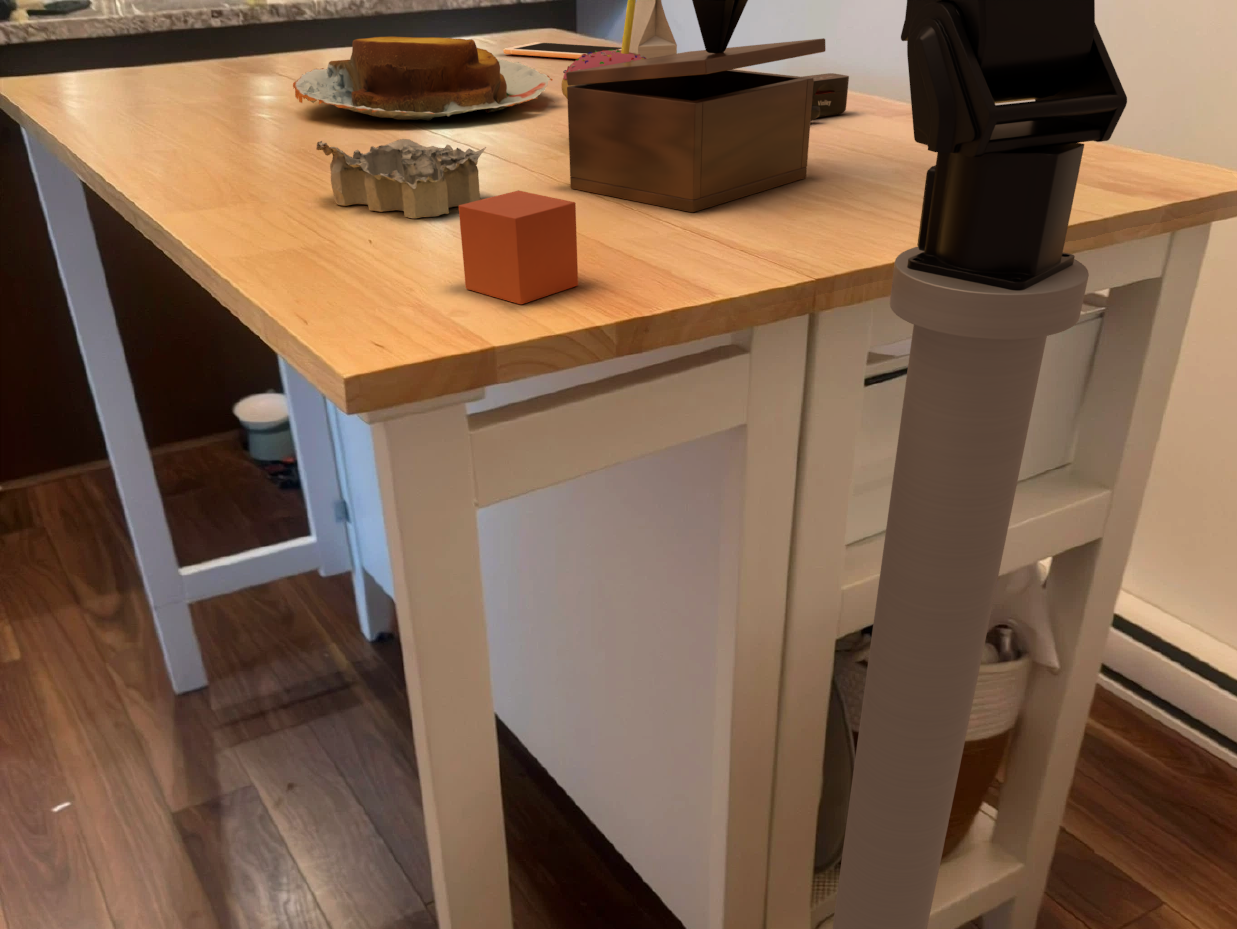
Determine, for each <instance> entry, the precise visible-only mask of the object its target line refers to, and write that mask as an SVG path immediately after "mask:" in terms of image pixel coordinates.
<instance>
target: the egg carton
mask: <svg viewBox="0 0 1237 929" xmlns="http://www.w3.org/2000/svg"><path fill="white" fill-rule="evenodd" d="M486 148H487V146H484V147H483V148H481V149H480V150H476V151H474V150H473V149H471V148H467V150H466V151H464V150H462V149H461V148H459V147H456V149H454V148H453V147H452V146H451V145H450V144H446V145H445V147H439V146H435V145H431V146H424V145H421V144H419V143H418V142H415V141H413V140H411V139H409V138H401V139H396V140H394V141H392V142H389V143H387V144H383V145H378V146H377V147H376V146H373V145H372V146H370V148H369V151H367V152H366V153H363V152H361V151H360V150H359V149H355V150H354V151H353V154H352V156H350V155H348V154H346V152H345V151H343V150H341V149H340V148H339V147H336V146H329V145H328V143H327V142H323V140H321V141H317V143H316V151H322V152H323V153H324V155H325V156H327V157H328V156H330V155H332V159H331V162H330V163H329V168H330V185H331V189H332V194H333V198H334V202H335V204H336V205H339V206H344V207H345V206H351V205H367V207H368V210H369V211H372V212H373V211H375V212H379V213H380V212H381V213H382V212H389V211H398V212H399V211H401V212H403V216H404V217H405V218H409V219H419V218H431V217H439V216H441V215H444V214H447V215H448V214H449V213H450V210H449V209H450V208H453V207H459V205H462V204H466V203H470V202H474V201H478V200H481V192H480V179H479V178H480V177H479V168H478V166H477V165H478V162H479V158H480V156H481V155H482V154H483V153H484V152H485V150H486Z"/></svg>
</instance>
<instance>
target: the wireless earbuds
mask: <svg viewBox="0 0 1237 929" xmlns="http://www.w3.org/2000/svg"><path fill="white" fill-rule="evenodd" d="M802 77H808V78H814V80H813V94H812V107H811V120H810V121H813V120H816V119H817V118H823V117H831V116H838V115H842V114H844V113H845V112H846V110H847V102H848V93H849V92H848V91H849V81H850V76H849V75H846V74H841V73H834V72H833V73H831V72H830V73H829V72H828V73H821V74H819V73H818V74H812V75H804V76H802Z"/></svg>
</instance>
